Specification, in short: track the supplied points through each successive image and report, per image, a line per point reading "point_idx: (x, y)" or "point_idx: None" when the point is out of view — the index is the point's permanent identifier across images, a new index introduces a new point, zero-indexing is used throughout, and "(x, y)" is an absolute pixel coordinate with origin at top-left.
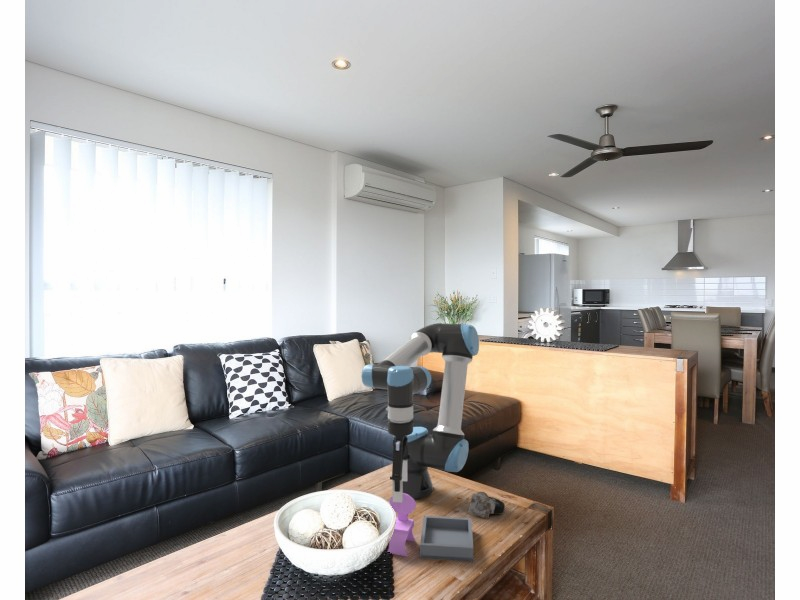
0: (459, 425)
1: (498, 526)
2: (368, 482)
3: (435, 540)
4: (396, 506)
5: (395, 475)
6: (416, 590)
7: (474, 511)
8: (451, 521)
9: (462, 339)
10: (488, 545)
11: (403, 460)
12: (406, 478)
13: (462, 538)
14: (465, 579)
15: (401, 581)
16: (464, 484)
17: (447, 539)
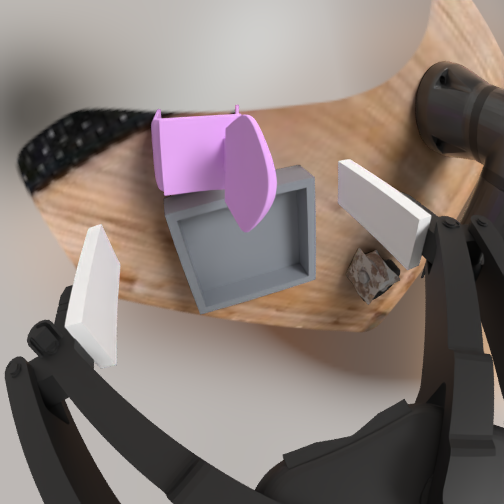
0: None
1: (323, 295)
2: (460, 7)
3: None
4: (236, 143)
5: (40, 389)
6: (61, 232)
7: (358, 260)
8: (305, 241)
9: None
10: (258, 299)
11: (413, 249)
12: (346, 207)
13: (262, 263)
14: (138, 295)
15: (67, 193)
16: (453, 207)
17: (249, 238)
